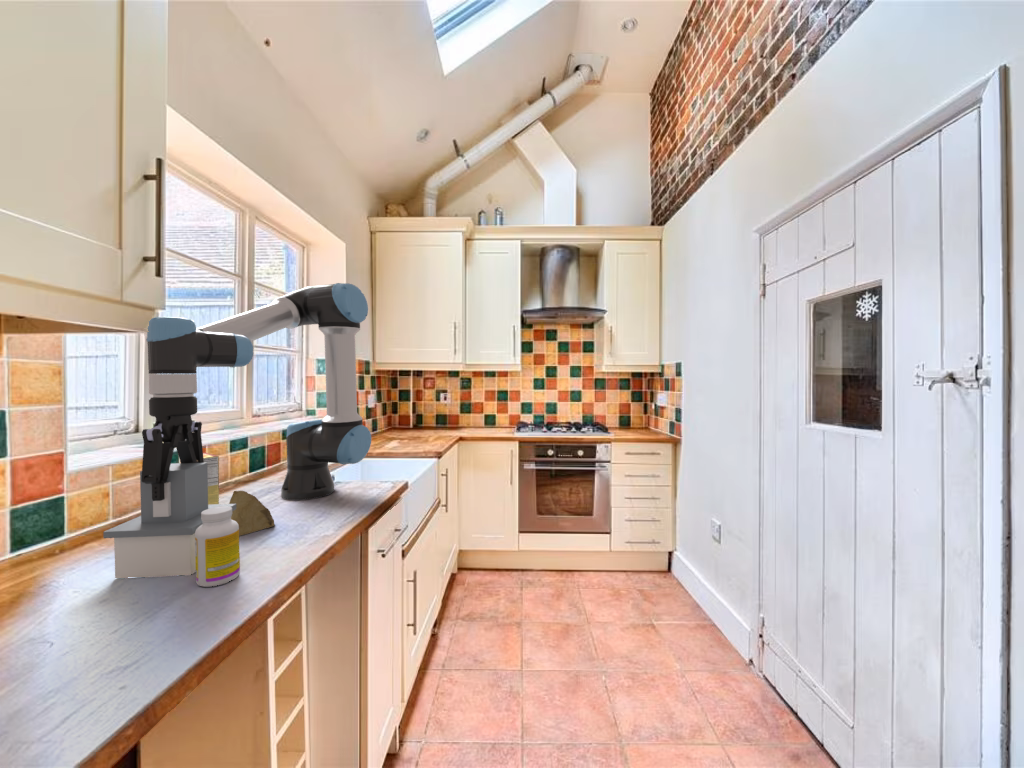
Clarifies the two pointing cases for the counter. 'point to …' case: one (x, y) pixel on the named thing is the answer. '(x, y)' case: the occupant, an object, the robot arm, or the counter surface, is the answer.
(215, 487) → the candy box
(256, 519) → the rock
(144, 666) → the counter surface
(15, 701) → the counter surface
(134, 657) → the counter surface
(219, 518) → the supplement bottle
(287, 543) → the counter surface
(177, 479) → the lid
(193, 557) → the storage box
